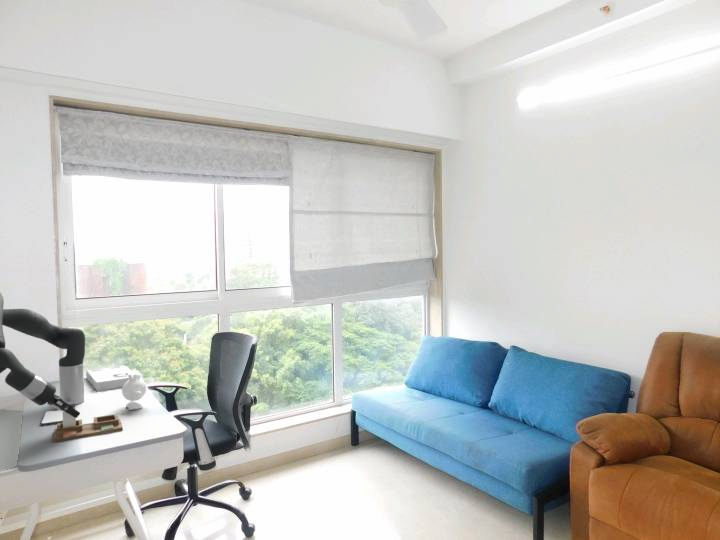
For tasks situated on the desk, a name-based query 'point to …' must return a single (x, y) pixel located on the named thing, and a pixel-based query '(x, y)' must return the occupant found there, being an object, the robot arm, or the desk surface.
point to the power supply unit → (108, 377)
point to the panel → (88, 428)
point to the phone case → (52, 417)
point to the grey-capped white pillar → (69, 417)
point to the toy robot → (134, 391)
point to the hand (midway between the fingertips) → (73, 413)
